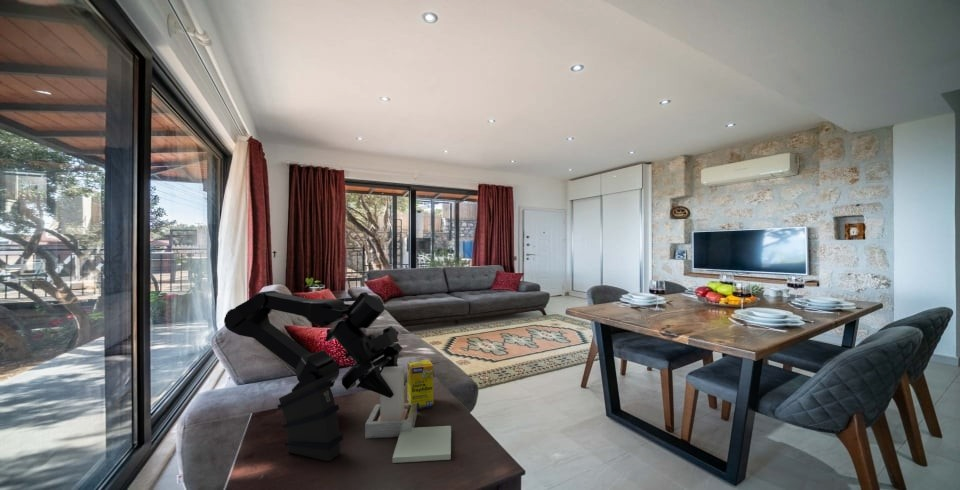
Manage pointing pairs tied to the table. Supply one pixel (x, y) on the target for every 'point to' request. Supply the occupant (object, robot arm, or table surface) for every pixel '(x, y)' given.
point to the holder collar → (390, 423)
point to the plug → (395, 404)
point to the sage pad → (423, 444)
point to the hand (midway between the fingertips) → (398, 391)
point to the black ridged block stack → (312, 421)
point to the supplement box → (420, 383)
